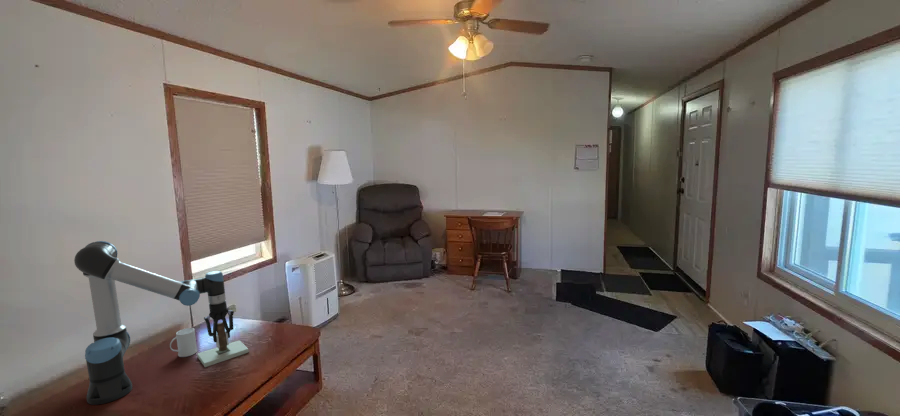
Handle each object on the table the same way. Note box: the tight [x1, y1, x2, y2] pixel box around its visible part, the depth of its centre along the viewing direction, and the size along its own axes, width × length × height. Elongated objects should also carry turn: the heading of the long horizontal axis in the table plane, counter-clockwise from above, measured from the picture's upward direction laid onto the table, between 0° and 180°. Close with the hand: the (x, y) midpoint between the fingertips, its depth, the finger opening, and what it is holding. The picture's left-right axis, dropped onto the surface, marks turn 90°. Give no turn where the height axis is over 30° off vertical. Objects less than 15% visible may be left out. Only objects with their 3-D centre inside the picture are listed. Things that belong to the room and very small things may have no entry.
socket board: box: [196, 339, 250, 368], centre depth 208 cm, size 20×14×2 cm
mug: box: [169, 327, 198, 358], centre depth 209 cm, size 12×8×12 cm
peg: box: [217, 321, 227, 351], centre depth 207 cm, size 4×4×14 cm
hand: (222, 345), depth 207 cm, fingers closed on peg, 3 cm apart
